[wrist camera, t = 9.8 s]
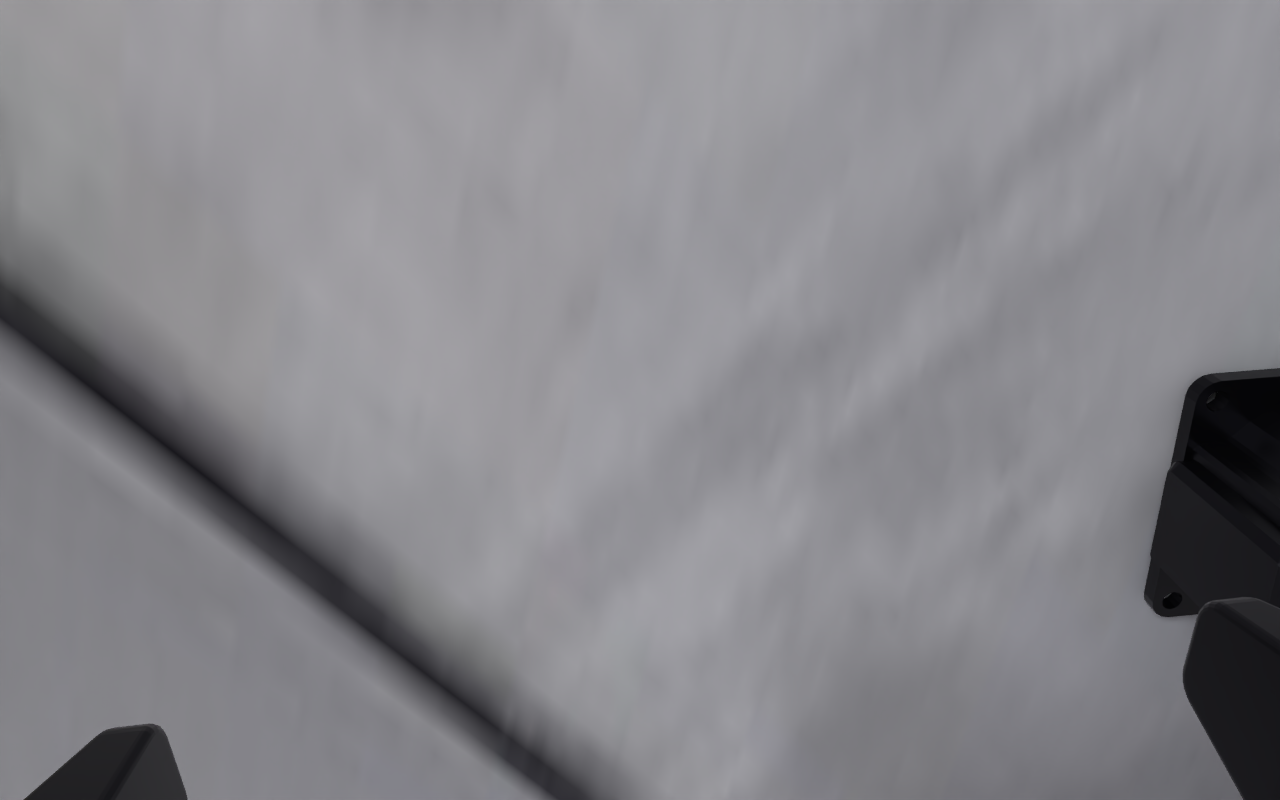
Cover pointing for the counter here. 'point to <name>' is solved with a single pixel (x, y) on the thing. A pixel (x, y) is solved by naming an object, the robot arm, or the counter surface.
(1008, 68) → the counter surface
